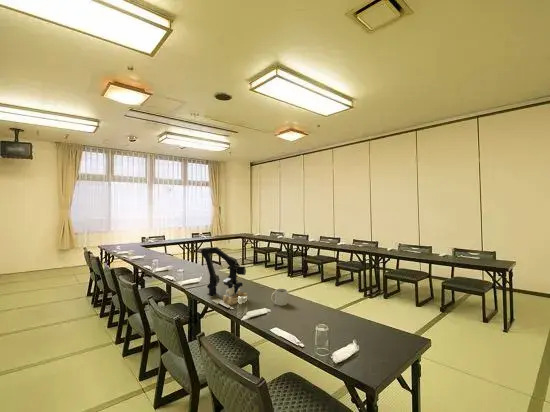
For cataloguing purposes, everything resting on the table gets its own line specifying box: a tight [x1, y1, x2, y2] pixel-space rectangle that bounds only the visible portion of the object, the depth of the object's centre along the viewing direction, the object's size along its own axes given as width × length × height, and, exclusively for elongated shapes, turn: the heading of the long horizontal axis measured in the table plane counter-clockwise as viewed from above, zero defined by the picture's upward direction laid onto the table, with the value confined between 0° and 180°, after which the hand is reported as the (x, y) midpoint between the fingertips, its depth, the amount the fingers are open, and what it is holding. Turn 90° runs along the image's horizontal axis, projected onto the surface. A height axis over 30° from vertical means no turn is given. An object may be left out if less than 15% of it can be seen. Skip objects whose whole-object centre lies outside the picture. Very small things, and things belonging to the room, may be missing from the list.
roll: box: [225, 287, 241, 297], centre depth 225 cm, size 10×6×6 cm, turn 135°
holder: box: [222, 290, 248, 306], centre depth 213 cm, size 11×16×5 cm
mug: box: [270, 288, 288, 307], centre depth 207 cm, size 11×10×10 cm
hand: (233, 293), depth 225 cm, fingers closed on roll, 6 cm apart
